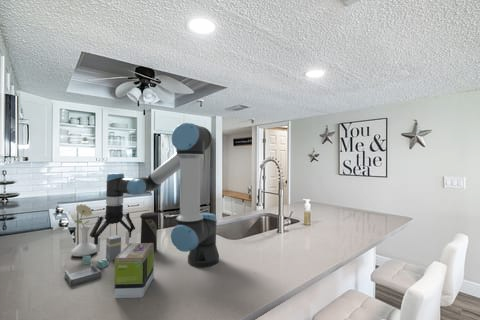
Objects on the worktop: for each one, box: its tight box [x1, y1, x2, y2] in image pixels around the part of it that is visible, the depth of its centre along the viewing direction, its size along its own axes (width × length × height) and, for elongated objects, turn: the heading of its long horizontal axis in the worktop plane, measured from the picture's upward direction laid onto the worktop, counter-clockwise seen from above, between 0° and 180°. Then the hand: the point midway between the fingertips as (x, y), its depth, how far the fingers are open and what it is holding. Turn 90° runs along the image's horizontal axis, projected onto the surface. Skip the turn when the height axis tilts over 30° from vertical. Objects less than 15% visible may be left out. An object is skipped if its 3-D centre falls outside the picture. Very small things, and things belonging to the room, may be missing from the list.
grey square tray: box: [64, 263, 102, 287], centre depth 100 cm, size 11×10×2 cm
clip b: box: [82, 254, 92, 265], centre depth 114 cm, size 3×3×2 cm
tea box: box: [114, 242, 155, 299], centre depth 93 cm, size 15×10×15 cm, turn 5°
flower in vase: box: [70, 203, 97, 257], centre depth 123 cm, size 13×11×25 cm
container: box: [139, 211, 159, 253], centre depth 130 cm, size 9×9×20 cm
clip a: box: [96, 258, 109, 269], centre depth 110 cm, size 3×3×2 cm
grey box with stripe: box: [105, 234, 122, 261], centre depth 120 cm, size 5×5×10 cm
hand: (113, 247), depth 120 cm, fingers open, 13 cm apart
